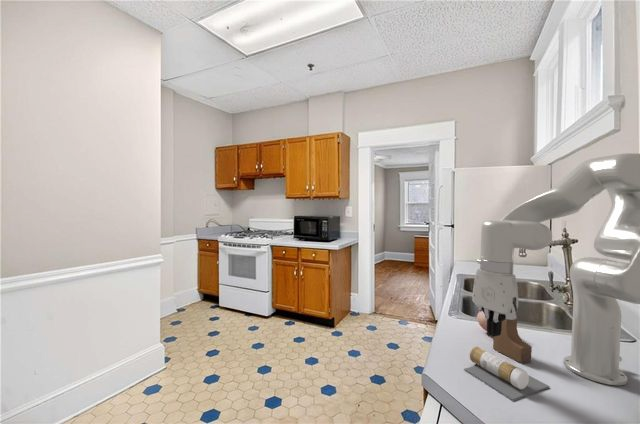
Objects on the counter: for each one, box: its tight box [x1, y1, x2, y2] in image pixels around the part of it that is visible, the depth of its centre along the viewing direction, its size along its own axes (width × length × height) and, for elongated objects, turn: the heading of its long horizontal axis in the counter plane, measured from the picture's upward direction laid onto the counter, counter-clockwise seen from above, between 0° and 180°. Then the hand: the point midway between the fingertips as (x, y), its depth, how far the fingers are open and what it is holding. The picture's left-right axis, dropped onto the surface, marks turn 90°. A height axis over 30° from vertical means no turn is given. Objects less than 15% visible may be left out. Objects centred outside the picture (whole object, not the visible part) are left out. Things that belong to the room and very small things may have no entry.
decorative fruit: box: [476, 308, 487, 332], centre depth 100 cm, size 9×8×10 cm
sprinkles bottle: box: [469, 346, 530, 390], centre depth 74 cm, size 5×5×13 cm
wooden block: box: [492, 311, 533, 364], centre depth 85 cm, size 9×4×18 cm, turn 20°
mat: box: [463, 364, 550, 402], centre depth 73 cm, size 14×13×1 cm
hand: (493, 334), depth 75 cm, fingers closed
